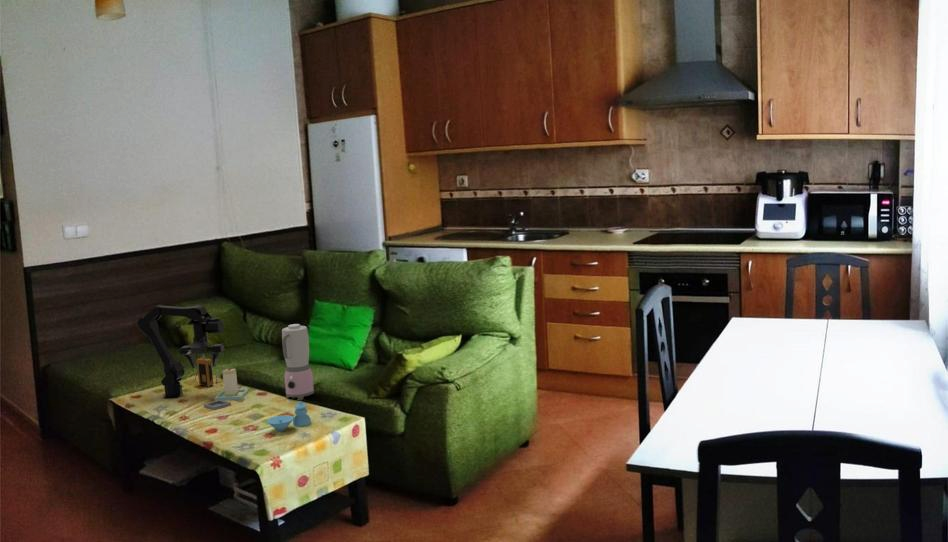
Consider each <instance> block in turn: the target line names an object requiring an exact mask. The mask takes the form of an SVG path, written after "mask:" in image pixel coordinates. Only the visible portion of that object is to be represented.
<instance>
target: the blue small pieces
mask: <svg viewBox="0 0 948 542" xmlns="http://www.w3.org/2000/svg"><path fill="white" fill-rule="evenodd" d="M294 409H295V410H294V414H295V416H293V415H288V414H287V415H286V414H285V415H283V414H282V415H276V416H273V417H270V418H268V419H266V423H267V424H269V425H270V426H271V427H272V428H274V429H275V430H277V432H284V431H286V429H287V428H288V427H289V425H291V423H292V425H293V426H294V427H297V428H298V427H300V428H302V427H307V426H309V425H311V423H312V422H311V417H310V415H308V409H307V404H305V403H303V401H302V400H299V401H298V403H297V404H296V405H294Z"/></svg>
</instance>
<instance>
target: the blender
mask: <svg viewBox="0 0 948 542" xmlns="http://www.w3.org/2000/svg"><path fill="white" fill-rule="evenodd" d="M281 340H282V341H281V342H282V352H283V357H284V361H285V364H286V370H285V371H284V387H285V396H286V397H285V398H286V399H289V398H297V400H299V401H302V400H304V397H307V396H311V395H313V394H314V393H315V389H314V376H313V375H314V374H313V371H312V369H311V367H310V365H309V363H310V362H309V359H310V340H309V332H308V327H307V326H305V325H301V324H300V323H293V324H289V325H287V327H284V328H282V329H281Z"/></svg>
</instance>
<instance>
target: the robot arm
mask: <svg viewBox="0 0 948 542" xmlns="http://www.w3.org/2000/svg"><path fill="white" fill-rule="evenodd" d="M162 316H171V317H182V318H187V319H188V320H190V321H189V322H187V325H189V326H190V325H191V326H192V330H193V338H192V343H191V344H190V345H183V346H182V347H180V348H179V355H182V357H186V359H187V360H188V362H189V363H190V365H191V367H192V369H195V368H196V367H195V365H196V363H195V354H196V353H197V354H199V355H200V354H202V352H203V351H204V352H209V351H210V352H212V353H211V356H212V368H216V367H215V364H217V360H218V358H219V354H221V353H222V352H223V351H224V350H225V349H226V348H225V345H224V343H215V344H213V345H212V346H210V343H209V334H223V332H224V329H225V324H224V322H223V321H222V319H221V317H217V318H213V317H212V315H211V314H210V313H209V312H208V311H207V308H206V307H205V306H204V305H192V306H174V305H173V306H171V305H162V304H159V305H156V306H155V307H153V308H152V310H150V311H149V312H148V313H146V314H145V315H144V316H143V317H140V318H139V319H138V320H137V324H136V325H137V327H138V328H139V330H140V331H141V333H143V334H144V335H146V336H147V337H148V338H149V340H150V343H151V344H152V346H153V348H154V350H155V351H156V353H157V354H158V357H159V359H160V360H161V362H162V364H163V373H164V375H165V376H164V377H163V378H162V379H161V381H160V383H161V384H162V386H164V387H163V389H164V396H163V398H164V399H173V398H179V397H180V396H182V395H183V387H182V384H181V381H182V378H183V376H184V375H185V367H184V366H183V364H182V362H181V360H178V361H177V360H176V359H174V357H173V356H172V354H171V352H170V350H169V348H168V347H167V344H166V343H165V340H164V339H163V337H162V335H161V334H160V332H159V323H158V320H159V319H160V318H161V317H162ZM204 352H203V353H204ZM181 394H182V395H181Z"/></svg>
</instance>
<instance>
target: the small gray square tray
mask: <svg viewBox="0 0 948 542" xmlns="http://www.w3.org/2000/svg"><path fill="white" fill-rule="evenodd" d="M231 405H232V403H231V402H230V401H228V400H225V401H223V400H217V401H215V400H214V401H211V402H208V403H204V404H203V408H205V409H209V410H213V411H216V410H219V409H223V408H226V407H229V406H231Z"/></svg>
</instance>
